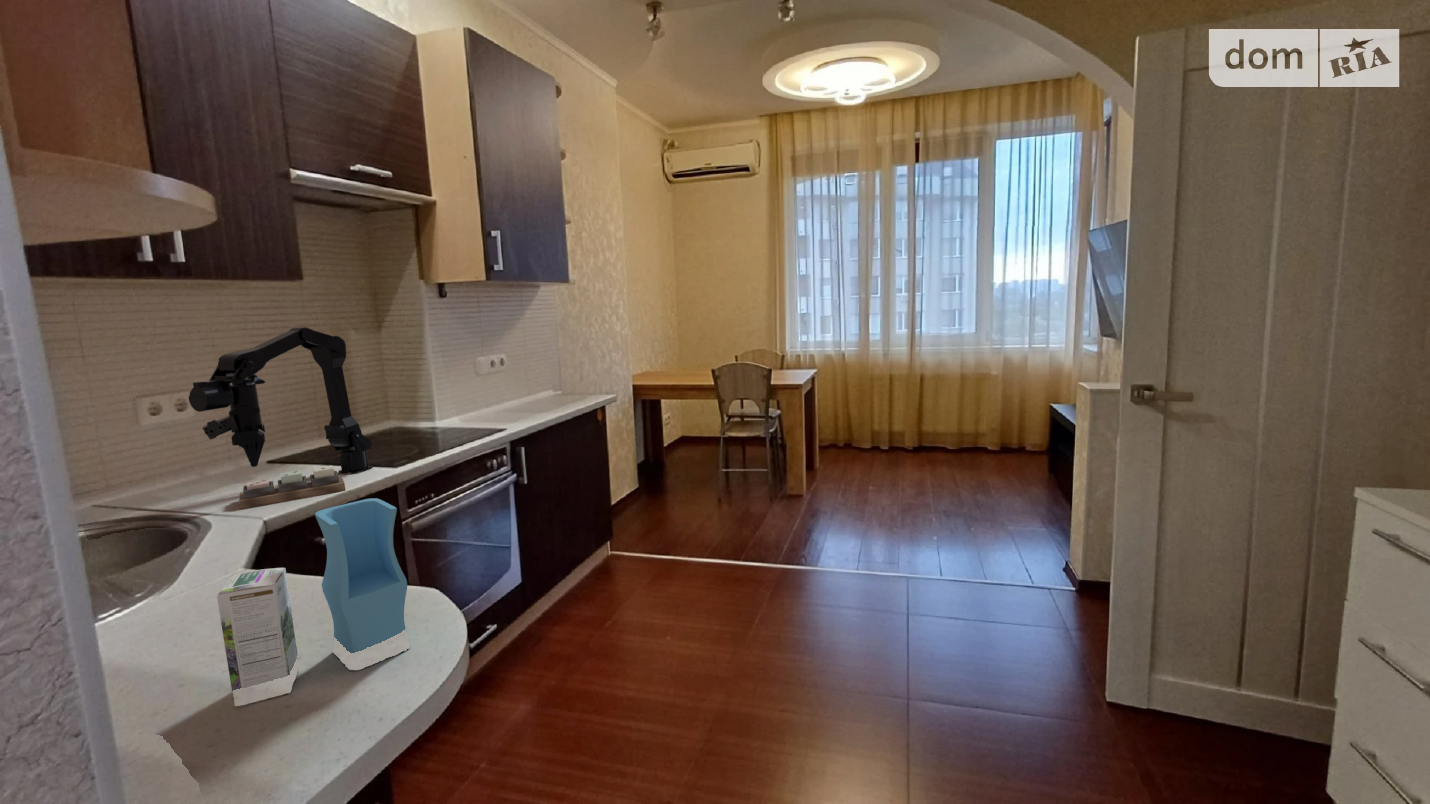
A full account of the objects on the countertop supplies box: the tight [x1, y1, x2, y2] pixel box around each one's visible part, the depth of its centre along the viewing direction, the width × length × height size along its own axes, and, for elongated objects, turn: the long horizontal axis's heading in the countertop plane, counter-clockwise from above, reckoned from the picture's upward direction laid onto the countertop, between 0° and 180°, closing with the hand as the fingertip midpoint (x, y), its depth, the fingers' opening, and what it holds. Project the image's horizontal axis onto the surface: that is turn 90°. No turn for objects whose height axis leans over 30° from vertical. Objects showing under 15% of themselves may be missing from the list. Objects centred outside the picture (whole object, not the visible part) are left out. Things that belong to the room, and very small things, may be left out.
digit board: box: [238, 470, 346, 510], centre depth 158 cm, size 22×9×4 cm, turn 126°
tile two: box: [279, 470, 303, 484], centre depth 157 cm, size 4×4×2 cm
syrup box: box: [216, 567, 299, 692], centre depth 75 cm, size 6×6×14 cm
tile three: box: [246, 478, 270, 490], centre depth 153 cm, size 4×4×2 cm
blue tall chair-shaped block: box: [314, 497, 408, 653], centre depth 82 cm, size 8×8×20 cm
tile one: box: [312, 465, 335, 479], centre depth 161 cm, size 4×4×2 cm
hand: (254, 466), depth 152 cm, fingers closed
